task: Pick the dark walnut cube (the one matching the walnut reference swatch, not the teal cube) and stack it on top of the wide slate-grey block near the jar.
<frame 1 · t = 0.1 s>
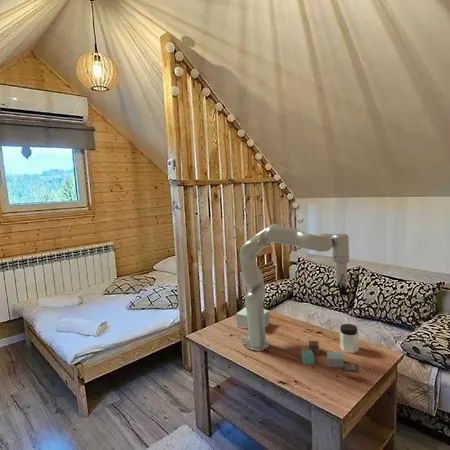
hand: (342, 292, 165), 31 cm above the table, fingers open, 9 cm apart
teal cube: (307, 362, 160), on the table
reference swatch: (349, 368, 152), on the table
jar: (349, 349, 169), on the table
supplement box: (253, 326, 207), on the table
grey base block: (335, 363, 157), on the table, touching reference swatch
walnut cube: (314, 352, 169), on the table
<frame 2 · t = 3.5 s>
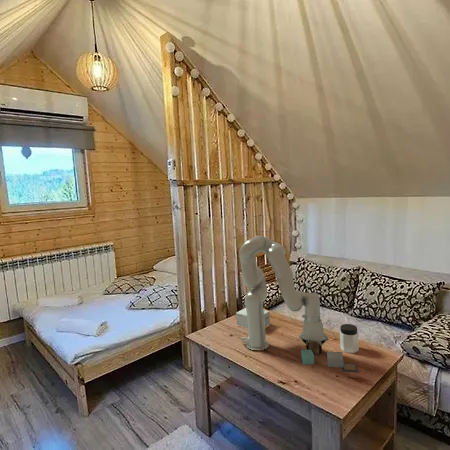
hand: (314, 351, 169), 0 cm above the table, fingers closed on walnut cube, 5 cm apart
walnut cube: (314, 352, 169), on the table, touching gripper
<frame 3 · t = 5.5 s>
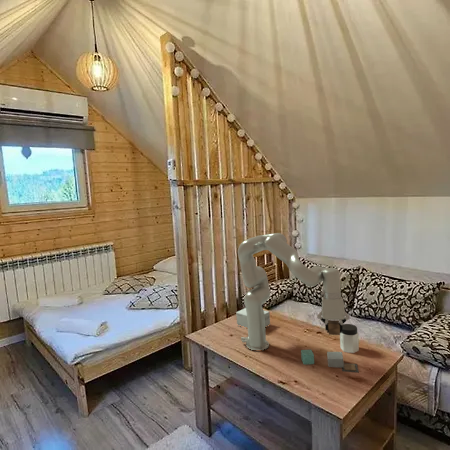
hand: (334, 331, 156), 16 cm above the table, fingers closed on walnut cube, 5 cm apart
walnut cube: (334, 332, 156), point 15 cm above the table, touching gripper
when the fingers open (6 cm above the table, at t = 7.7 s): walnut cube drops 1 cm, resting on grey base block.
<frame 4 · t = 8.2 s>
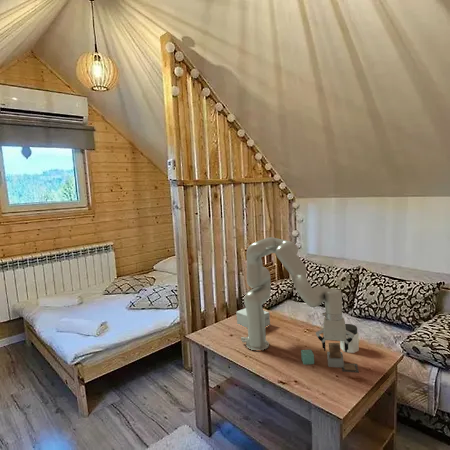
hand: (335, 350, 156), 7 cm above the table, fingers open, 9 cm apart
grey base block: (335, 363, 157), on the table, touching reference swatch, walnut cube
walnut cube: (335, 355, 156), point 4 cm above the table, touching grey base block
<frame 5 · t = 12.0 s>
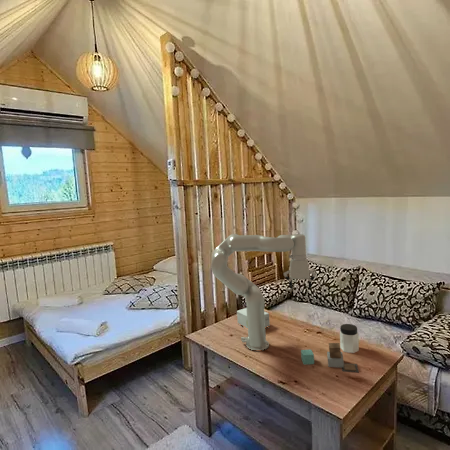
hand: (300, 288, 178), 30 cm above the table, fingers open, 9 cm apart
at the end: walnut cube 0.1 cm off-centre on the grey base block, point 4.0 cm above the grey base block's base; walnut cube tilted 3°; teal cube moved 0.1 cm from its start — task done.
